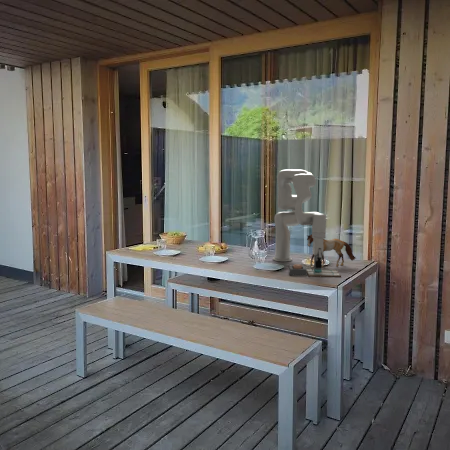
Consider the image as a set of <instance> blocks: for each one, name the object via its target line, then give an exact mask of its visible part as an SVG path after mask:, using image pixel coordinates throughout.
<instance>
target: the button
mask: <svg viewBox="0 0 450 450" xmlns="http://www.w3.org/2000/svg"><path fill="white" fill-rule="evenodd" d="M292 266H293V269H302V266H303V265H302V264H298V263H294V264H293V265H292Z"/></svg>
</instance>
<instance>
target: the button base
mask: <svg viewBox="0 0 450 450" xmlns="http://www.w3.org/2000/svg"><path fill="white" fill-rule="evenodd" d="M307 269H308V268H306V265H302V269H293V265H288V273H289V276H300V275H306V276H307Z"/></svg>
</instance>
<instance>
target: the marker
mask: <svg viewBox="0 0 450 450" xmlns="http://www.w3.org/2000/svg"><path fill="white" fill-rule="evenodd" d="M321 254H322V253H321ZM317 255H319V254H317ZM313 269H314V272H322V269H323V267H321V268H316V256H315V255H314V258H313Z"/></svg>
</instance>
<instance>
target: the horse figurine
mask: <svg viewBox="0 0 450 450" xmlns="http://www.w3.org/2000/svg"><path fill="white" fill-rule="evenodd" d="M306 237H307V239H306V240H307V246H308V247H311V245H312V244H313V238H312V233H311V234H310V235H306ZM344 247H345V252H346V254H347V256H348V257H349V258H348V259H349V260H351V261H352V262H353V261H354V260H355V259H357V257H355V256H354V254H353V250H352V247H351V246H350V244H349V243H347V242H346V241H344V240H341V239H339V238H332V239H326V238H324V239H323V255H322V268H324V265H325V256H324V252H330V251H333V250H334V252H335V253H336V254H337V255H338V258H337V260H336V264H335V267H339V265H340V266H344V263H345V259H344V254H343V252H342V250H343V248H344ZM310 258H311V259H310V263H309V264H310V265H311V266H310V267H313V266H314V263H313V261H314V254H313V253H312V256H311V257H310ZM340 259H341V264H339V263H340Z"/></svg>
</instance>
